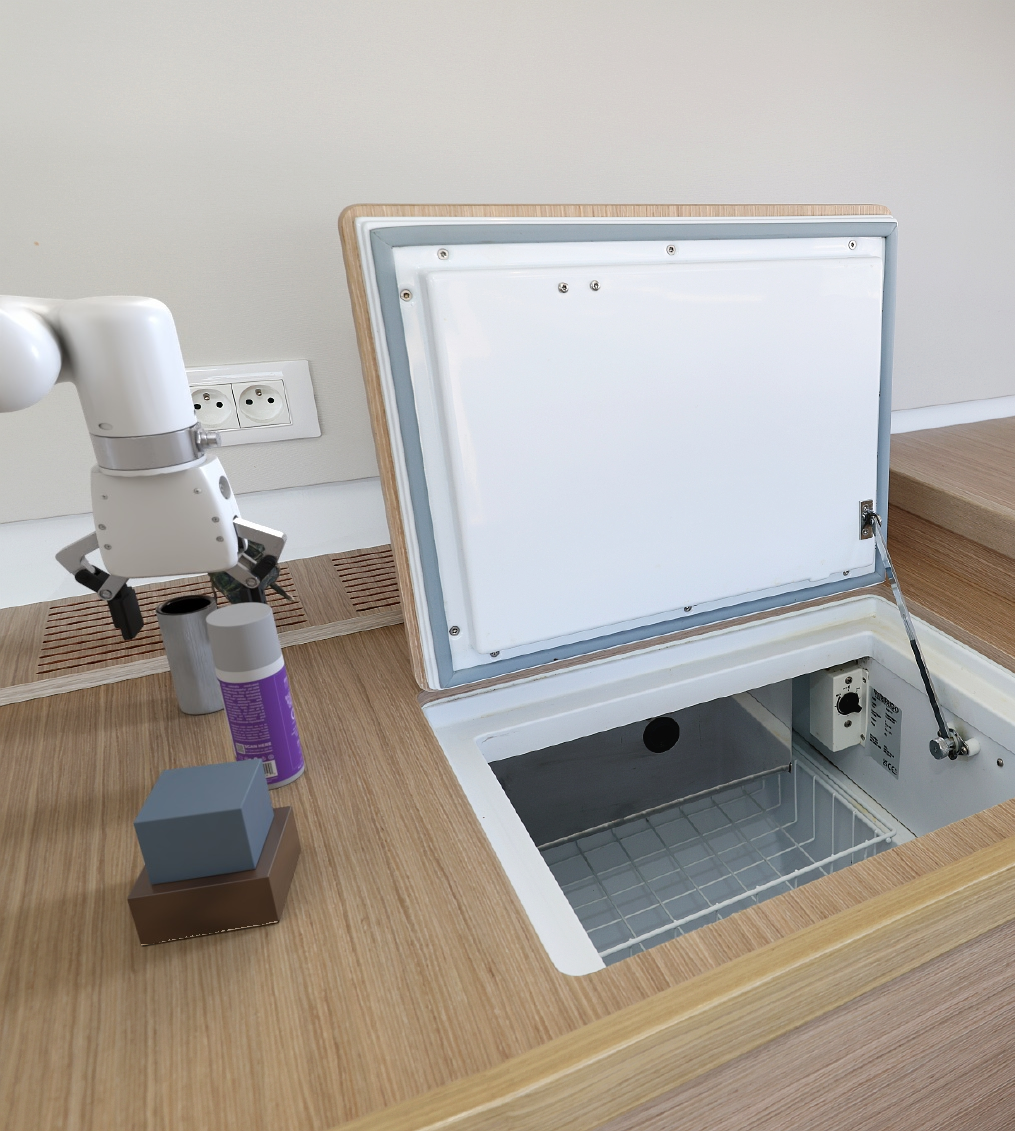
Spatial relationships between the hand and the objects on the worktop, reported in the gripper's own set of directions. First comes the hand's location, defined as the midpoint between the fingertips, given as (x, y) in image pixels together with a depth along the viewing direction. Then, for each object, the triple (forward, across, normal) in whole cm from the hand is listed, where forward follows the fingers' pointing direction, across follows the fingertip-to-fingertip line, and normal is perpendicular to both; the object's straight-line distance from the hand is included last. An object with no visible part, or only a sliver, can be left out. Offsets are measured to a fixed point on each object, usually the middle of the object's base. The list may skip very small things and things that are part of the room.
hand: (196, 627), depth 87 cm
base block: (+8, -8, +29) cm, 31 cm away
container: (+8, -8, +14) cm, 18 cm away
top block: (+4, -8, +29) cm, 30 cm away
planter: (+8, 0, 0) cm, 8 cm away
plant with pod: (+8, +2, -16) cm, 18 cm away
